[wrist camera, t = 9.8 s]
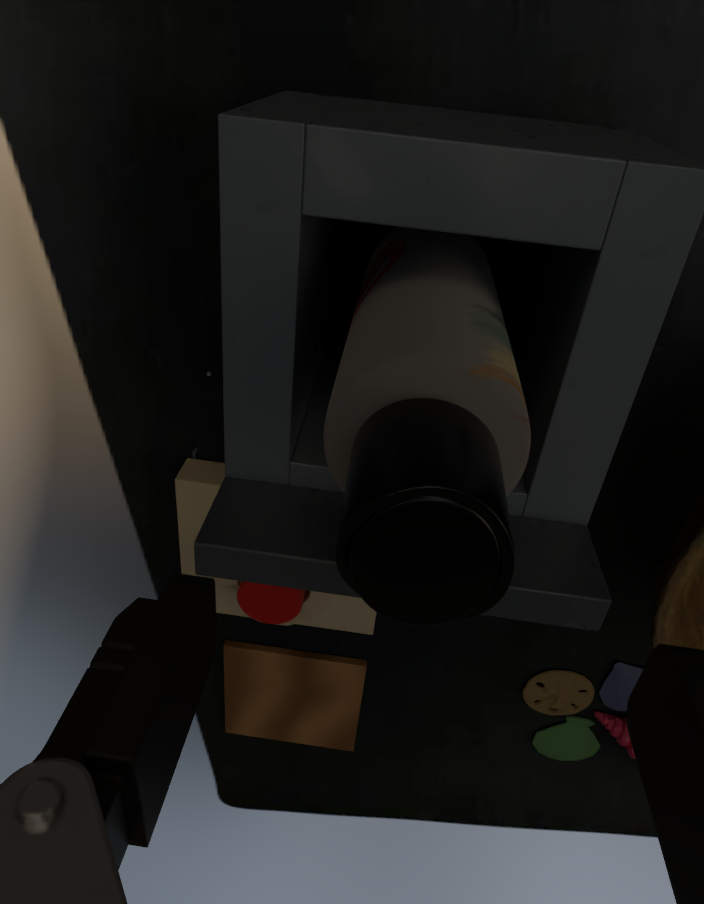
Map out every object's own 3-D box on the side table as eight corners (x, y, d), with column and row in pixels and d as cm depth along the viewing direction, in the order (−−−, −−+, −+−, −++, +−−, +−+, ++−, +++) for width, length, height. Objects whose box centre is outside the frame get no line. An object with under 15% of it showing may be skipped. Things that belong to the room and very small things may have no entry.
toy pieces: (720, 669, 42) (748, 730, 38) (669, 768, 48) (689, 829, 44) (532, 651, 43) (542, 708, 39) (505, 750, 49) (512, 809, 45)
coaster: (227, 725, 51) (225, 732, 50) (225, 639, 45) (223, 646, 45) (354, 744, 50) (353, 751, 50) (367, 659, 45) (366, 666, 44)
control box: (194, 583, 43) (174, 630, 39) (187, 457, 37) (163, 499, 34) (375, 609, 42) (370, 658, 39) (394, 485, 37) (391, 530, 33)
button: (244, 597, 38) (236, 619, 36) (244, 550, 36) (236, 572, 34) (305, 605, 38) (300, 628, 36) (308, 559, 36) (303, 582, 34)
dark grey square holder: (275, 391, 34) (194, 575, 22) (284, 90, 27) (169, 130, 15) (540, 425, 34) (599, 632, 22) (626, 128, 26) (788, 201, 14)
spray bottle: (346, 301, 31) (247, 607, 14) (403, 190, 28) (363, 412, 11) (448, 354, 32) (467, 700, 15) (514, 252, 29) (628, 541, 12)
